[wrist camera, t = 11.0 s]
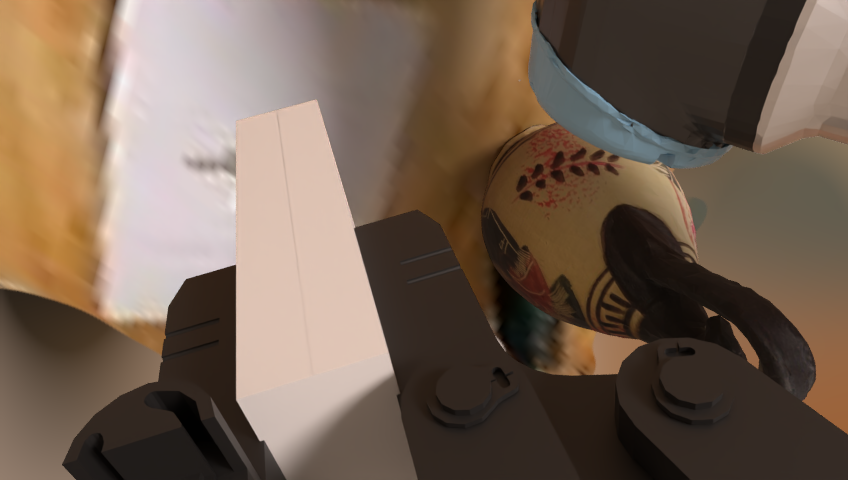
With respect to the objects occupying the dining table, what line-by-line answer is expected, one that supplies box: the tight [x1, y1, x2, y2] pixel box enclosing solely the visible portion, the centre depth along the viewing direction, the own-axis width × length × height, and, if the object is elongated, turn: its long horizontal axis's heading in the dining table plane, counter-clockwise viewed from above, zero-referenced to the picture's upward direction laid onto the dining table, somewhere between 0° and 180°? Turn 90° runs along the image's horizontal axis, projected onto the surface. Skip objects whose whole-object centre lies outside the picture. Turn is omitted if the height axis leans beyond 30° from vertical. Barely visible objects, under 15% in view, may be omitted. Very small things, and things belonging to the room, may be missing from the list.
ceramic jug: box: [481, 80, 816, 401], centre depth 43 cm, size 17×15×30 cm
